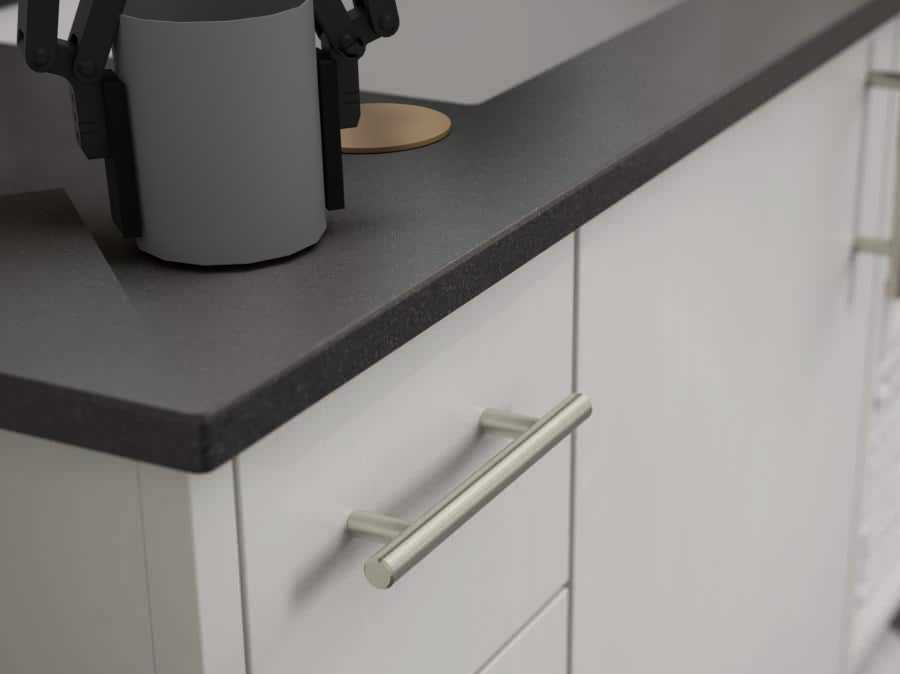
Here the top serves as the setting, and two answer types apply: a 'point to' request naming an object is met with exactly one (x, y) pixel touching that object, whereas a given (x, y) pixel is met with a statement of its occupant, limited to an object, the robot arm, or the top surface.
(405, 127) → the cork coaster
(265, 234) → the cup
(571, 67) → the top surface
